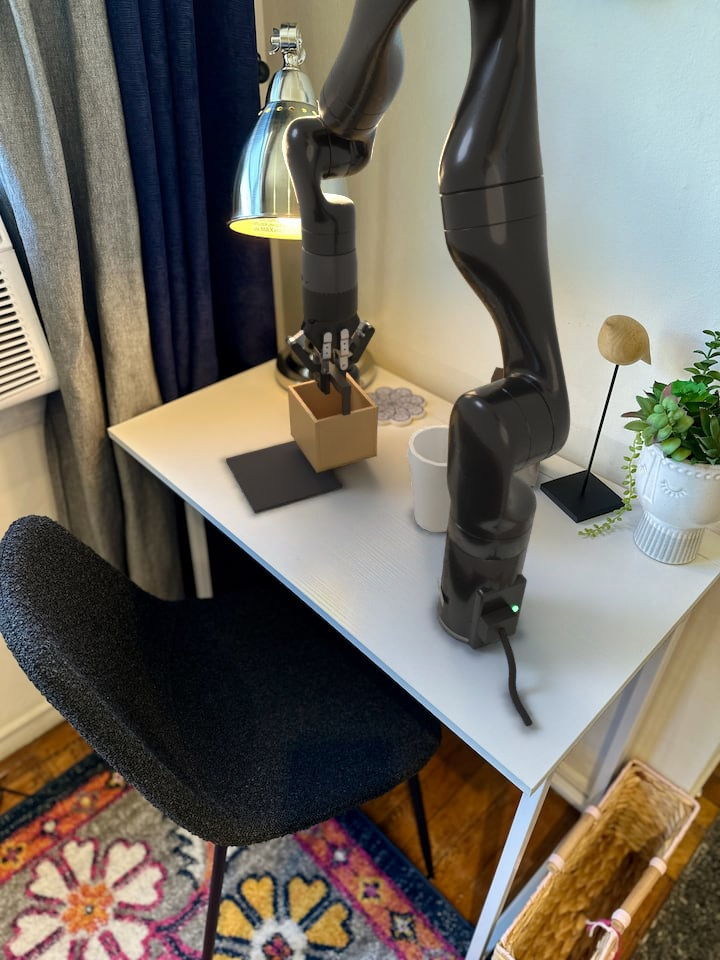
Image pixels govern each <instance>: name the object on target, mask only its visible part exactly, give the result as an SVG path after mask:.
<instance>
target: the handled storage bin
mask: <svg viewBox="0 0 720 960" xmlns="http://www.w3.org/2000/svg"><path fill="white" fill-rule="evenodd" d="M312 360H315V353H314V352H313V353H312ZM329 373H330V394H328V395H325V394H324V393H323V392H321V391H320V389H319V388H318V386H317V374H316V372H315V373H314V380H312V381H309V380H308V381H304V382H299V383H295V384H291V385H287V399H288V413H289V414H288V415H289V428H290V429H289V430H290V436H291V437H292V439H293V441H296V443H297V444H298V446H299V447H300V449H301V450H302V452H303V453H304V455H305V456H306V457H307V459H308V460H309V462H310V463H311V465H312V466H313V468H314V469H315V471H316V472H317V473H318V472H321V471H325V470H329V469H331V470H332V469H336V468H339V467H343V466H347V465H349V464H350V465H351V464H353V463H356V462H360V461H364V460H369V459H372V458H375V457H377V456H378V428H379V427H378V424H379V423H378V421H379V416H378V415H379V406H378V405H377V403H376V402H374V401H373V400H372V398H371V397H370V396H369V395H368V394H367V393H366V392H365V390H364V389H363V388H362V387H361V385H360V386H359V385H358V384H357V383H356V382H355V381H354V379H353V378H352V377H351V376H350V375H349V374H348V373H346V379H345V378H344V377H343V376H342V374H341V373H340V372H339V371H338V370H337V369H336V368H335V366H334V365H333V364H332V363H331V362H330V361H329ZM333 385H334V386H333ZM334 387H335V388H336V389H337V390H338V391H339V392H337V390H336V389H335V388H334Z"/></svg>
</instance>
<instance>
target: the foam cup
mask: <svg viewBox="0 0 720 960" xmlns="http://www.w3.org/2000/svg"><path fill="white" fill-rule="evenodd" d="M448 429H449V425H447V424H446V425H444V424H443V425H441V424H434V425H429V426H425V427H422V428H419V429H418V430H416V431H415V432H413V433H412V434H411V435H410V438H409V440H408V443H407V453H406V454H407V456H406V459H407V461H408V467H409V473H410V474H409V476H410V477H409V478H410V485H411V486H410V487H411V498H412V506H413V514H414V516H413V517H414V520H415V522H416V524H417V525H418V526H419V527H420V528H422V529H423V530H426V531H429V532H432V533H444V532H447V526H448V517H449V509H450V495H449V491H448V486H447V454H448Z"/></svg>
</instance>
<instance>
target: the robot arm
mask: <svg viewBox="0 0 720 960" xmlns="http://www.w3.org/2000/svg"><path fill="white" fill-rule="evenodd" d="M418 1H419V0H355V3H354V6H353V9H352V14H351V16H350V17H351V18H350V21H349V25H348V27H347V32H346V34H345V37H344V40H343V43H342V45H341V48H340V50H339V52H338V54H337V56H336V58H335V60H334V62H333V64H332V66H331V68H330V71H329V73H328V75H327V77H326V79H325V81H324V83H323V85H322V88H321V90H320V92H319V97H318V103H317V109H318V115H307V116H300V117H297V118H294V119H293V120H291V122H290V123H289V124H288V125H287V127H286V129H285V131H284V134H283V138H282V154H283V158H284V161H285V165H286V169H287V171H288V174H289V178H290V180H291V183H292V187H293V189H294V193H295V194H294V195H295V197H296V201H297V205H298V210H299V214H300V227H301V228H300V229H301V231H300V232H301V258H300V260H301V261H300V280H301V295H302V314H303V320H302V322H301V324H300V330H299V331H298V332H297V333H295V334H294V335H287V336H286V337H285V343H286V344H287V346H289V348H290V349H291V350H292V351H293V353H294V354H295V355H296V356H297V358H298V359H299V360H300V361H301V362H302V364H303V365H304V366H305V368H306V369H307V370H308V372H309V371H310V372H311V373H315V372H316V374H317V386H318V388H319V389H320V391H321V392H323V393H324V394H325V395H328V394H330V373H329V360H330V359H331V350H332V349H333V355H334V362H335V364H333V365H334V366H335V368H336V369H337V370H338V371H339V372H340V373H341V374H342V376H343V377H344V378H345V379H346V369H347V367H348V365H350V364H351V363H353V364H355V365H357V364H358V363H359V361H360V359H361V358H362V356H363V355H364V352H365V350H366V349H367V347H368V345H369V343H370V342H371V340H372V338H373V336H374V335H375V333H376V329H375V327H374V326H373V325H372V324H371V323H370V322H368V320H361V318H360V316H359V315H358V311H359V305H358V304H359V261H358V251H357V208H356V206H355V205H356V204H355V203H354V202H353V201H352V200H351V199H350V198H348V197H346V196H343V195H339V194H333V193H332V194H331V193H324V191H323V189H322V181H327V180H335V179H341V178H347V177H353V176H356V175H358V174H360V173H361V172H363V170H365V169H366V168H367V167H368V166H369V164H370V162H371V161H372V156H373V152H374V151H373V150H374V145H375V140H376V136H377V131H378V127H379V123H380V122H381V121H382V119H383V117H384V116H385V114H386V113H387V112H388V110H389V108H390V106H391V105H392V103H393V102H394V101H395V99H396V97H397V95H398V93H399V91H400V88H401V86H402V83H403V80H404V75H405V67H406V56H405V48H404V42H403V37H402V32H401V31H402V30H401V25H402V23H403V21H404V19H405V18H406V17H407V15H408V14H409V12H410V11H411V10H412V9H413V7H414V5H415V4H416V3H417V2H418ZM467 1H468V7H469V19H470V60H469V68H468V74H467V78H466V82H465V85H464V88H463V92H462V95H461V97H460V101H459V102H458V106H457V109H456V111H455V114H454V116H453V118H452V121H451V124H450V127H449V130H448V133H447V136H446V138H445V142H444V144H443V147H442V151H441V155H440V159H439V165H438V171H437V183H438V184H437V185H438V194H439V202H440V210H441V218H442V225H443V233H444V239H445V240H444V241H445V245H446V248H447V251H448V255H449V256H450V258H451V260H452V262H453V264H454V266H455V268H456V269H457V270H458V272H459V273H460V275H461V276H462V278H463V280H464V281H465V282H466V284H467V285H468V286H469V288H470V289H471V290H472V292H473V293H474V294H475V295H476V297H477V298H478V299H479V301H480V302H481V304H482V305H483V307H484V308H485V309H486V311H487V312H488V314H489V315H490V317H491V319H492V321H493V323H494V326H495V330H496V332H497V336H498V339H499V345H500V351H501V360H502V368H503V379H500V380H497V381H495V382H492V383H491V382H489V383H487V384H483V385H481V386H478V387H474V388H473V389H470V390H468V391H465V392H464V393H462V394H460V396H458V397H457V399H456V400H455V402H454V403H453V405H452V408H451V410H450V411H451V412H450V415H449V420H448V426H449V429H448V454H447V486H448V491H449V495H450V509H449V517H448V526H447V531H446V536H445V543H444V552H443V561H442V569H441V579H440V578H439V577H437V580H436V581H437V583H436V584H437V589H438V593H439V597H438V602H437V605H436V606H437V607H436V616H437V619H438V622H439V624H440V626H441V628H442V629H443V630H444V631H445V632H446V633H447V634H448V635H449V636H451V637H452V638H455V640H458V641H460V642H462V643H465V644H468V645H469V646H470V648H471V649H472V650H473V651H474V650H478V649H480V648H483V647H485V646H488V645H490V644H493V643H497V642H499V641H501V644H502V646H503V650H504V653H505V657H506V660H507V661H506V662H507V668H508V681H507V683H508V691H509V696H510V700H511V702H512V704H513V707H514V708H515V710H516V712H517V713H518V714H519V716H520V718H521V720H522V722H523V724H524V725H525V727H529V726H531V725H533V720H532V719H531V717H530V715H529V713H528V711H527V710H526V708H525V706H524V704H522V703H523V702H522V701H521V698H520V696H519V693H518V688H517V664H516V663H517V662H516V659H515V658H516V657H515V655H514V650H513V648H512V645H511V642H510V639H509V637H510V636H512V635H515V634H516V632H517V628H518V623H519V618H520V614H521V610H522V606H523V601H524V596H525V592H526V588H527V584H528V580H527V578H526V577H525V575H524V574H523V571H524V567H525V561H526V557H527V552H528V547H529V544H530V539H531V535H532V530H533V524H534V520H535V517H536V512H537V506H538V505H537V503H538V502H537V497H536V493H535V492H534V489H533V488H532V486H530V485H529V484H528V483H527V482H525V481H524V480H523V479H521V478H520V477H518V476H516V475H514V473H515V472H517V471H520V470H522V469H524V468H527V467H529V466H531V465H533V464H536V463H538V462H540V463H541V462H542V461H545V460H547V459H549V458H551V457H553V456H555V455H556V454H558V453H559V452H560V451H561V450H562V449H563V448H564V447H565V445H566V443H567V441H568V438H569V435H570V430H571V409H570V408H571V407H570V398H569V392H568V387H567V381H566V375H565V369H564V364H563V359H562V358H563V357H562V352H561V348H560V341H559V336H558V335H559V334H558V330H557V329H558V328H557V323H556V317H555V308H554V297H553V287H552V278H551V268H550V257H549V244H548V219H547V218H548V217H547V202H546V200H547V199H546V189H545V188H546V187H545V177H544V176H543V175H545V174H544V166H543V157H542V150H541V149H542V147H541V139H540V138H541V137H540V123H539V122H540V121H539V104H538V83H537V67H536V66H537V65H536V64H537V63H536V62H537V61H536V11H537V10H536V7H537V6H536V5H537V4H536V3H537V1H536V0H467ZM351 338H352V340H351V342H350V344H348V342H349V340H350V339H351ZM306 339H307V340H308V341H309V342H310V343H311V344H312V345H313V353H314V352H315V360H313V359H311V358H310V355H308V353H307V352H306V351H305V350H306V347H307V343H306ZM333 386H334V385H333ZM334 388H335V387H334ZM335 389H336V388H335ZM336 390H337V389H336ZM337 392H339V391H338V390H337Z"/></svg>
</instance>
